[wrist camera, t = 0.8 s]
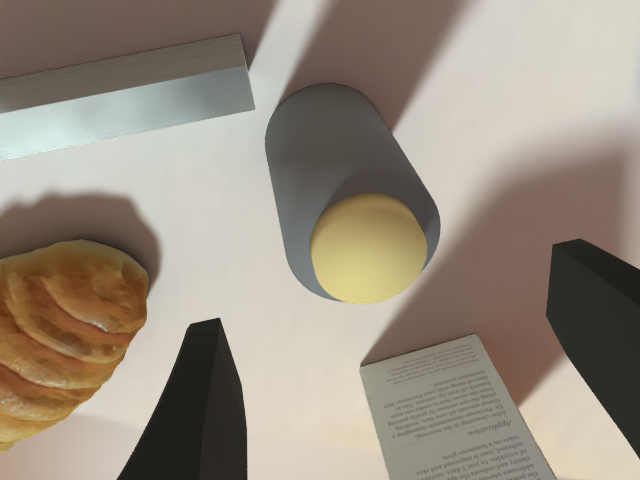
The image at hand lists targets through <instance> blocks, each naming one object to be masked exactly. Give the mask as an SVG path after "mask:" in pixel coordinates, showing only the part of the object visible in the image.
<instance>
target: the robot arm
mask: <svg viewBox="0 0 640 480" xmlns="http://www.w3.org/2000/svg"><path fill="white" fill-rule="evenodd" d="M546 317H547V318H548V320H549V322H550V324H551V326H552V328H553V330H554V332H555V334H556V336H557V338H558V340H559V342H560V344H561V345H562V347H563V349H564V351H565V353H566V355H567V356H568V358H569V359H570V361H571V362H572V364H573V365H574V366H575V368H576V369H577V371H578V372H579V373H580V375H581V376H582V378H583V379H584V381H585V382H586V383H587V385H588V386H589V388H590V389H591V390H592V392H593V393H594V395H595V396H596V397H597V399H598V400H599V402H600V403H601V404H602V406H603V407H604V408H605V410H606V411H607V413H608V414H609V415H610V417H611V418H612V420H613V421H614V422H615V424H616V425H617V427H618V428H619V429H620V431H621V432H622V433H623V435H624V436H625V438H626V439H627V440H628V442H629V444H630V445H631V447H632V448H633V450H634V451H635V453H636V454H637V456H638V457H639V459H640V270H639V269H637V268H636V267H634V266H632V265H630V264H628V263H626V262H624V261H623V260H621V259H619V258H617V257H615V256H613V255H611V254H610V253H608V252H606V251H604V250H602V249H600V248H598V247H596V246H594V245H592V244H591V243H589V242H586V241H584V240H582V239H576V240H571V241H567V242H562V243H557V244H553V248H552V258H551V269H550V279H549V290H548V301H547V311H546ZM117 480H247V426H246V417H245V408H244V401H243V393H242V385H241V381H240V378H239V375H238V372H237V369H236V366H235V363H234V360H233V357H232V354H231V351H230V348H229V344H228V341H227V338H226V335H225V332H224V329H223V326H222V323H221V320H220V318H215V319H211V320H206V321H202V322H197V323H193V324H190V326H189V327H188V328H187V330H186V334H185V337H184V340H183V343H182V345H181V348H180V351H179V354H178V356H177V359H176V362H175V364H174V367H173V369H172V372H171V374H170V377H169V379H168V381H167V383H166V386H165V388H164V390H163V392H162V395H161V397H160V399H159V402H158V404H157V406H156V408H155V410H154V412H153V414H152V416H151V418H150V420H149V422H148V424H147V426H146V428H145V430H144V432H143V434H142V436H141V438H140V440H139V442H138V444H137V446H136V447H135V449H134V451H133V453H132V455H131V456H130V458H129V460H128V461H127V463H126V465H125V467H124V468H123V470H122V472H121V473H120V475H119V476H118V478H117Z"/></svg>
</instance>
